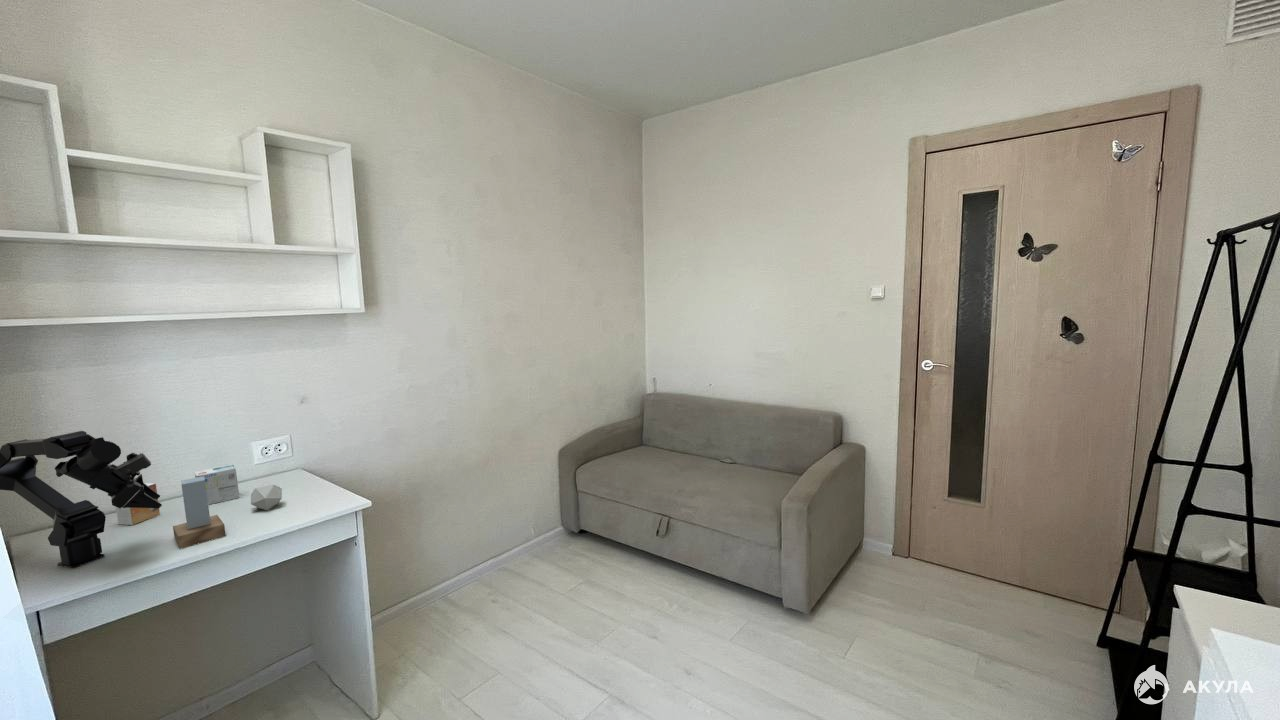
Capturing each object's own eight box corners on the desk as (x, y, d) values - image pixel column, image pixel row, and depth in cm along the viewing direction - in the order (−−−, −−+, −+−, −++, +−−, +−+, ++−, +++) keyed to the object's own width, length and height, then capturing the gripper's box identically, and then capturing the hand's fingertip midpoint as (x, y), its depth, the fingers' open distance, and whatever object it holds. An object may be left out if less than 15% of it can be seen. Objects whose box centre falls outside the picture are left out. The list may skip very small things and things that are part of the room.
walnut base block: (180, 550, 142) (178, 536, 142) (174, 539, 149) (172, 526, 148) (225, 537, 150) (224, 524, 149) (218, 527, 156) (217, 514, 156)
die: (289, 507, 171) (287, 479, 175) (268, 504, 163) (266, 475, 167) (266, 516, 171) (265, 488, 175) (244, 513, 163) (243, 484, 167)
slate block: (187, 529, 146) (181, 484, 144) (187, 524, 149) (181, 480, 148) (210, 524, 149) (204, 480, 147) (209, 519, 153) (204, 476, 151)
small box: (132, 525, 157) (126, 492, 156) (117, 524, 159) (112, 491, 157) (161, 514, 165) (156, 482, 164) (147, 513, 166) (142, 482, 165)
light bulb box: (237, 492, 183) (233, 463, 182) (240, 497, 178) (236, 467, 177) (197, 501, 175) (193, 470, 174) (199, 507, 171) (195, 475, 169)
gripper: (123, 454, 130) (187, 484, 139) (123, 440, 143) (181, 469, 153) (82, 493, 126) (151, 522, 135) (86, 475, 139) (148, 502, 148)
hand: (159, 502), depth 143 cm, fingers open, 9 cm apart
